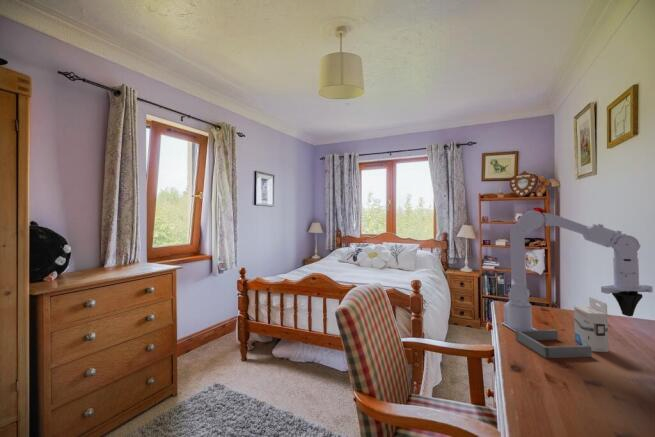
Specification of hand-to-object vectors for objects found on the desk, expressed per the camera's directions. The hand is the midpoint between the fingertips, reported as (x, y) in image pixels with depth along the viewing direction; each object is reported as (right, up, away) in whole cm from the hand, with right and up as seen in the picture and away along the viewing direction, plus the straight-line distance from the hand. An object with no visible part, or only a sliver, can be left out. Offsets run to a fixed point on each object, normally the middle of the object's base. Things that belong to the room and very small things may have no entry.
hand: (627, 315), depth 96 cm
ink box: (-12, -10, 0) cm, 15 cm away
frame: (-24, -10, 0) cm, 26 cm away
